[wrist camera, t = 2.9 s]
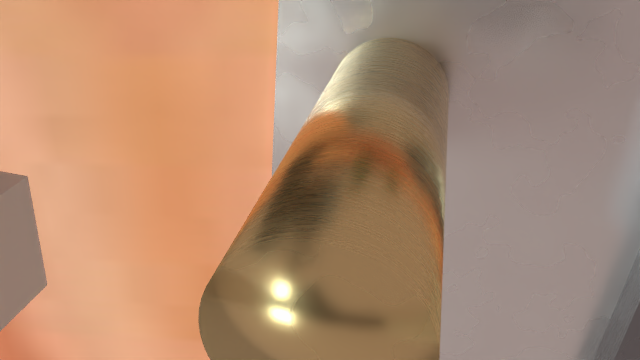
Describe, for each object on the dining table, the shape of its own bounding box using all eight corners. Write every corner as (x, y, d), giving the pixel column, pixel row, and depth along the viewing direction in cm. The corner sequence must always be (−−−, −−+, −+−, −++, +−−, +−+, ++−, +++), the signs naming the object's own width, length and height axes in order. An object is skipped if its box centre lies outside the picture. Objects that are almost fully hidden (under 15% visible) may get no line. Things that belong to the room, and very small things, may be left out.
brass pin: (336, 30, 19) (195, 220, 9) (459, 46, 19) (461, 269, 8) (326, 140, 21) (200, 402, 11) (437, 157, 21) (418, 452, 10)
